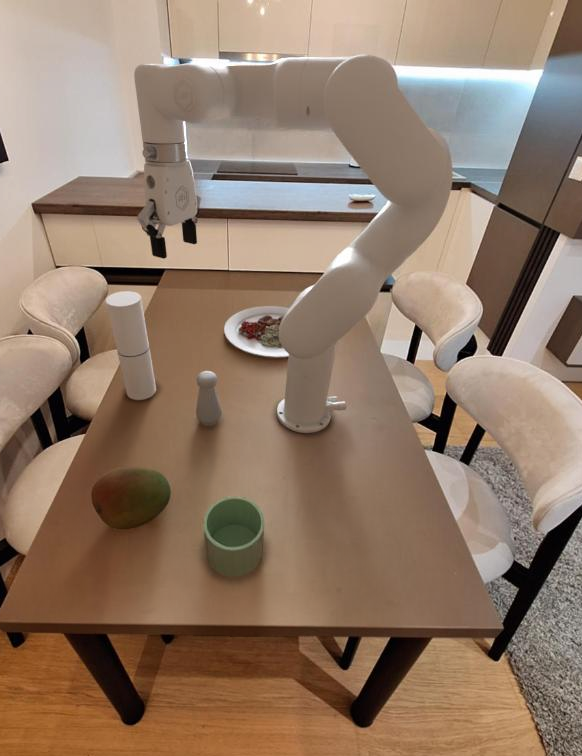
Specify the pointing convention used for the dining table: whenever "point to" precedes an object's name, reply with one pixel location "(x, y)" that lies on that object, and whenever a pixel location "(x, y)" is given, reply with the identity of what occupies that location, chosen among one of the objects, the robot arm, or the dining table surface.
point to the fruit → (130, 497)
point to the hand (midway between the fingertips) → (175, 249)
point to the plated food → (257, 331)
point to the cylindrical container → (132, 343)
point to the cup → (234, 536)
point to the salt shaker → (208, 399)
